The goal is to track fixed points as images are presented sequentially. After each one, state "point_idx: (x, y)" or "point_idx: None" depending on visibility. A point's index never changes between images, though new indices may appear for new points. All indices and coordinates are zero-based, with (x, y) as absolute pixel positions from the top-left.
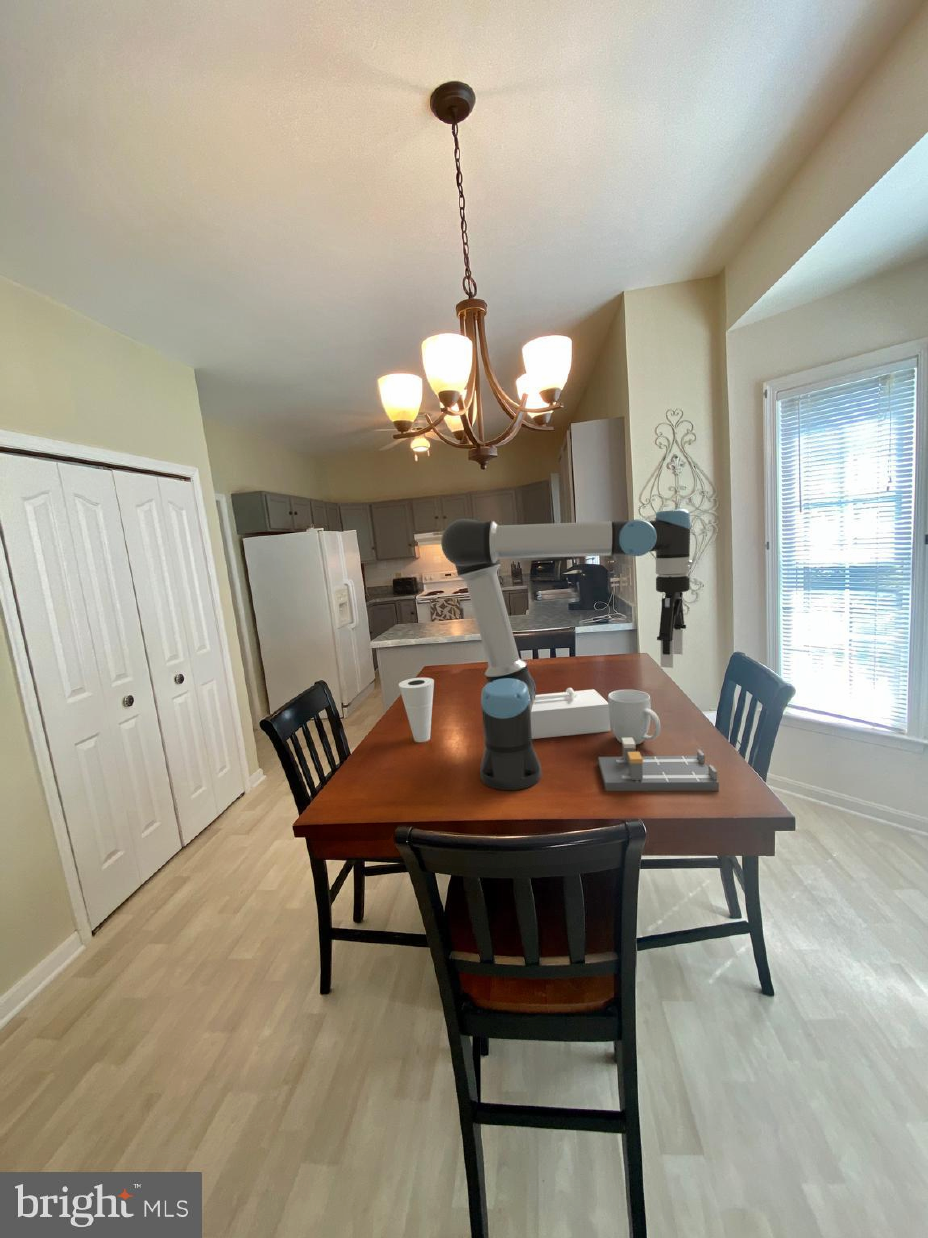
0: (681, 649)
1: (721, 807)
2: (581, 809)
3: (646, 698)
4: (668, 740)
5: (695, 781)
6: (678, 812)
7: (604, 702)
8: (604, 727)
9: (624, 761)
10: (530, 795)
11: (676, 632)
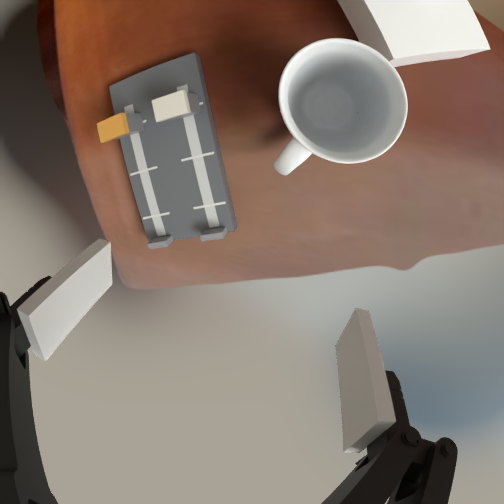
0: (337, 361)
1: (118, 234)
2: (75, 73)
3: (361, 153)
4: (336, 185)
5: (141, 213)
6: (93, 185)
7: (404, 48)
8: None
9: None
10: (96, 6)
11: (359, 421)
